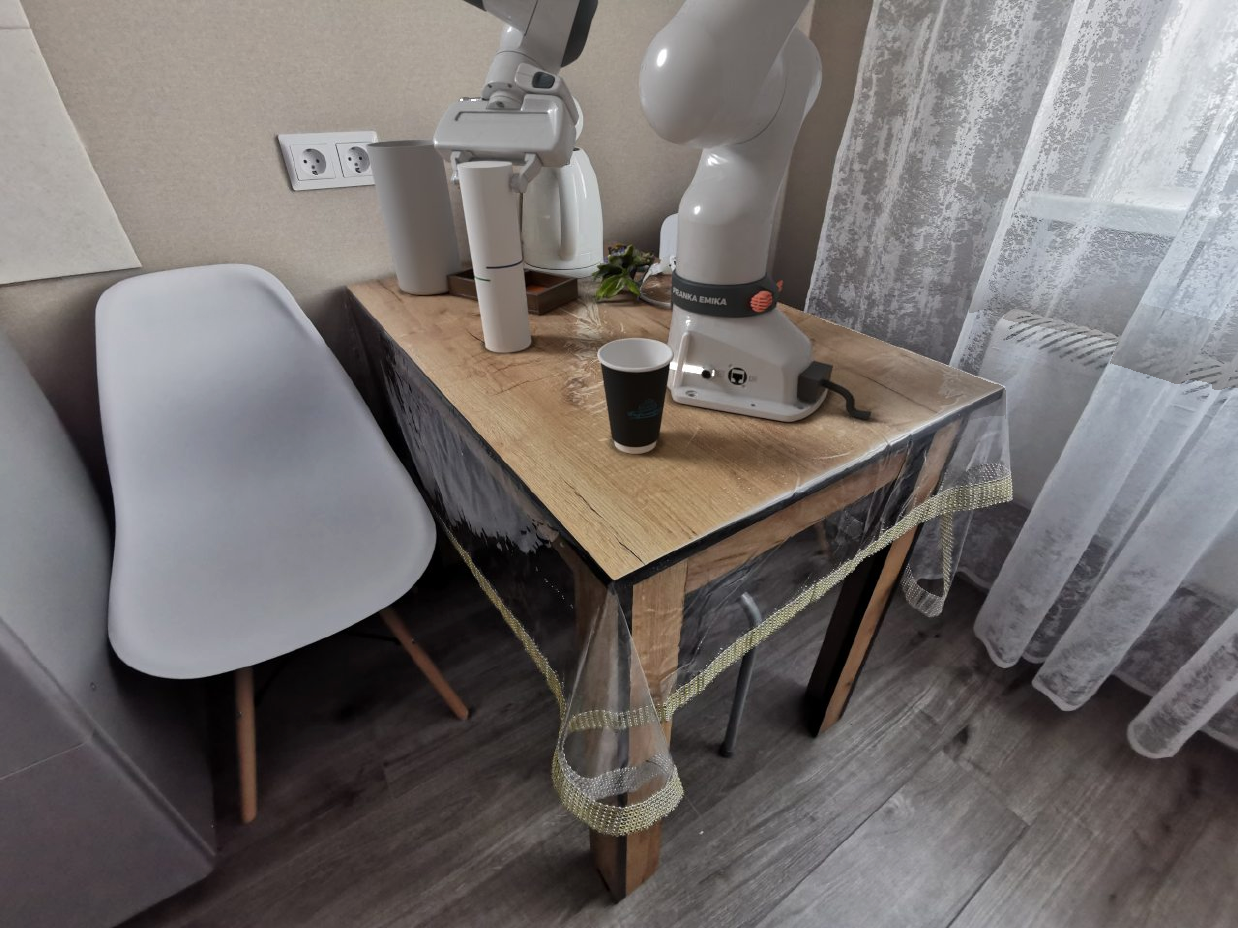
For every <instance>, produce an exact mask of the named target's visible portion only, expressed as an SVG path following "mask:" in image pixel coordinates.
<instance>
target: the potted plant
mask: <svg viewBox="0 0 1238 928" xmlns="http://www.w3.org/2000/svg"><path fill="white" fill-rule="evenodd" d="M607 252H608V254H607V255H606V256H605V258H602V262H599V264H597V265H596V268H597V270H596V271H592V272H591V275H592V276H593V277H592V283H595V281H596V280H598V279H600V278H601V280H600V281H599V282H600V283H599V286H598V289H597V290H595V293H594V300H595V301H596V303H599V301H601V300H602V299H604V298H606V299H611V298H613V297H615V296H616V295H617V294H619V293H620V292H621V291H622V290H624V288H625V287H627V288H628V289H629V290H630V292H632V293H633V294H634V295H636V303H637V304H638V303H639V302H638V301H639V298H640V296H641V295H642V293H641V289H642V287H643V284H644V280H645V278H646V276H647V274H648V272H649V271H650V269H651V267H652V266H653V264H654V262H655V260H656V258H655V255H654V254H655V253H653V254H652V253H651V252H647V253H646V254H644V253H643V251H642V250H641V249H640V248H637V247H635V245H633V244H632V243H631V244H630V245H628V244H621V243H617V244H615V247H614V246H607ZM643 258H644V259H643ZM647 266H648V267H647ZM646 267H647V268H646ZM637 273H638V274H639V273H640V274H642V273H643V276H642V277H641V279H639V280H638V281H635V277H636V274H637Z"/></svg>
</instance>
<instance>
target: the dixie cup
mask: <svg viewBox="0 0 1238 928" xmlns="http://www.w3.org/2000/svg"><path fill="white" fill-rule="evenodd" d="M596 354H597V355H596V357H597V360H598V361H599V362H600V367H601V374H602V381H603V388H604V394H605V401H606V407H607V408H606V409H607V414H608V421H609V427H610V435H611V438H612V440H613V441H614V446H615V447H616V448H617V450H619V451H620V452H623V453H626V454H631V455H639V454H640V455H641V454H644V453H648V452H651V451H652V450H653V449H654V448H656V445H657V441H658V439H659V438H660V432H661V426H662V422H663V421H662V420H663V414H664V408H665V402H666V397H667V395H666V394H667V389H668V387H667V383H668V377H669V370H670V364H671V362H672V360H673V358H674V352H673V350H672V348H670V347H669V346H668V345H667V344H666V343H664V342H662V341H659V340H657V339H651V338H643V337H627V338H620V339H616V340H613V341H610V342H608V343H606V344H604V345H602V346H601V347H600V348H599V349H598V351H597V353H596Z"/></svg>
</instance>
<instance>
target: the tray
mask: <svg viewBox="0 0 1238 928" xmlns="http://www.w3.org/2000/svg"><path fill="white" fill-rule="evenodd" d="M523 269H524V279H525V288H526V297H527V307H528V314H533V315H537V316H541V315H543V314H545V313H548V312H550V311H551V310H553V309H556V308H558V307H560V306H562V305H565V304H566V303H568V302H570V301H572V300H575V299H577V298H579V284H578V281H579V280H578V277H575V276H570V275H565V274H560V273H554V272H549V271H543V270H538V269H534V268H533V269H532V268H528V267H523ZM446 277H447V282H448V287H449V292H448V293H449V295H452V296H455V297H459V298H460V297H461V298H463V299H469V300H471V301H472V300H473V301H477V302H478V296H477V289H476V283H475V277H474V270H473V266H471V267H467V268H464V269H462V270H461V271H458V272H455V273H453V274H450V275H447V276H446Z"/></svg>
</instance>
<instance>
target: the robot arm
mask: <svg viewBox="0 0 1238 928" xmlns="http://www.w3.org/2000/svg"><path fill="white" fill-rule="evenodd" d="M462 1H463V2H464V3H468V4H469V5H471V6H473V7H474V8H477V9H479V10H481V11H483V12H486V13H489V14H490V15H492V16H494V17H496V18H497V19H498V20H500V21H502V22H503V23H504V24H503V26H502V29H501V33H500V36H499V48H498V50H497V51H496V52H495V54H494V55H493V57H492V60H491V62H490V64H489V68H488V71H487V74H486V77H485V79H484V82H483V86H482V89H481V96H474V97H469V96H462V97H460V98H459V100H457V101H453V102H451V103H450V105H449V106H448V107H447V108H446V110H445V111H444V113H443V114H442V116H441V119H440V120H439V123H438V125H437V127H436V129H435V131H434V134H433V137H432V140H433V144H434V147H435V149H436V150H437V152H438V153H439V154H440V155H441V157H442V158H443V161H444V162H446V163H448V164H451V167H452V174H451V177H450V183H451V185H452V187H454V189H456V190H461V188H460V182H459V175H458V169H457V165H458V164H461V163H466V162H475V161H507V162H511V163H512V167H513V166H515V167H522V168H521V169H520V171H519V172H513V176H512V180H511V182H510V185H511V188H512V189H513V191H514V192H515V194H517V193H518V194H525V193H526V192H527V190H528V187H529V184H530V183H531V182H532V181H533V180H534V179H535V178H536V177H537V176H538V175H539V174H540V173H541V171H542V168H557V169H558V168H559V169H562V168H564V167H565V166H566V165H568V163H570V161H571V159H572V156H573V153H574V149H575V145H576V140H577V128H576V125H578V122H579V119H580V114H579V111H578V108H577V105H576V103H575V100H574V97H573V95H572V93H571V91H570V89H569V87H568V85H567V84H566V82H565V80H564V78H563V77H562V76H560V75H558V74H560V71H561V69H563V68H565V67H567V66H569V65H570V64H573V63H574V62H575V61H577V60H578V59H579V58H580V56H581V55H582V54H583V51H584V49H585V47H586V44H587V42H588V38H589V34H590V30H591V27H592V26H591V25H592V23H593V19H594V17H595V14H596V12H597V9H598V5H599V0H462ZM811 1H812V0H684V3H683V4H682V6H681V7H680V8H679V10H678V11H677V13H676V14H675V15H674V17H673V18H671V20H670V21H668V23H667V24H666V25H665V26H664V27H662V29H660V31H658V32H657V33H656V35H654V37H653V39H651V41H650V43H649V44H648V47H647V48H646V50H645V53H644V55H643V58H642V61H641V65H640V69H639V77H638V94H639V96H638V97H639V101H640V106H641V109H642V113H643V116H644V117H645V120H646V122H647V124H648V125H649V127H650V128H651V129H652V131H653V132H654V133H655V134H656V135H657V136H658V137H660V139H663V140H665V141H666V142H669V143H672V144H675V145H678V146H682V147H687V148H690V149H695V150H702V152H701V155H700V159H699V162H698V166H697V168H696V171H695V174H694V176H693V178H692V181H691V182H690V184H689V185H688V187H687V189H686V190H685V191H684V193H683V195H682V197H681V199H680V201H679V205H678V210H677V231H676V249H675V252H676V253H675V268H674V269H672V273H671V285H670V310H671V311H670V312H672V314H671V320H670V328H669V334H668V340H667V344H666V345H668V346H669V347H670V348H672V350H673V352H674V358H673V360H672V362H671V364H670V370H669V377H668V383H667V389H669V390H670V393H671V397H672V399H673V401H674V402H675V403H677V404H683V405H687V406H694V407H698V408H699V407H700V408H704V409H705V408H706V409H711V410H717V411H722V412H728V413H734V414H738V415H745V416H750V417H755V418H761V419H762V418H763V419H767V420H774V421H779V422H785V423H786V422H787V423H792V422H797V421H800V420H802V419H804V418H806V417H808V416H811V414H813V413H814V412H816V411H817V410H818V409H819V408H820V406H821V405H822V404H823V403H824V402H825V399H826V397H827V395H828V390H829V391H832V392H834V393H836V394H837V395H838V394H839V395H840V396H841V397H842V398H843V399H844V400H845V409H846V412H847V413H848V414H849V415H850V416H851V417H853V418H857V419H864V420H869V419H870V418H871V415H872V411H869V410H860V409H857V408H856V407H855V404H856V399H855V397H854V395H853V394H852V393H851V391H850V390H848V389H847V388H846V387H844V386H842V385H840V384H838V383H836V382H833V381H831V377H832V373H833V368H834V365H833V364H829V363H825V362H820V361H817V360H815V357H814V356H815V355H814V354H815V353H814V346H813V343H812V340H811V339H810V338H809V336H807V335H806V334H805V333H804V332H803V331H802V330H801V329H800V328H799V327H798V326H797V325H796V324H795V323H794V322H793V321H792V320H791V319H789V317H788V316H787V315H786V314H785V313H784V312H782V310H781V309H780V308H779V307H778V299H779V293H780V292H781V291H782V290H783V287H782V286H783V284H784V281H783V279H781V280H780V281H778V282H777V283H776V282H775V281H774V280H773V279H772V277H771V276H770V275H769V273H768V272H767V267H768V266H767V264H768V258H769V251H770V245H771V244H770V243H771V238H772V237H771V236H772V230H773V224H774V217H775V211H776V207H777V203H778V198H779V194H780V191H781V188H782V184H783V182H784V178H785V175H786V172H787V170H788V166H789V162H790V160H791V157H792V153H793V151H794V148H795V145H796V142H797V139H798V136H799V133H800V130H801V127H802V125H803V123H804V120H805V119H806V116H807V115H808V114H809V112H810V110H811V109H812V107H813V106H814V104H815V102H816V100H817V98H818V96H819V93H820V90H821V86H822V80H823V65H822V59H821V55H820V52H819V50H818V48H817V46H816V45H815V43H814V42H813V41H812V39H810V38H809V37H808V36H807V35H806V33H804V32H803V31H801V30H800V29H799V28H798V27H797V25H798V24H799V21H800V20H801V18H802V16H803V15H804V13H805V11H806V10H807V8H808V7H809V5H810V3H811Z"/></svg>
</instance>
